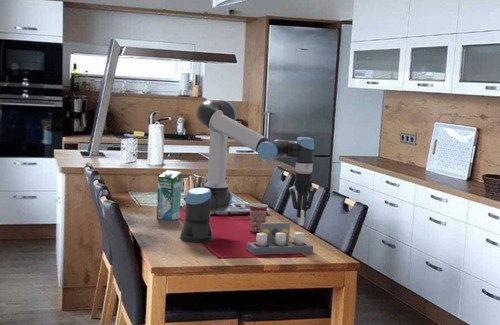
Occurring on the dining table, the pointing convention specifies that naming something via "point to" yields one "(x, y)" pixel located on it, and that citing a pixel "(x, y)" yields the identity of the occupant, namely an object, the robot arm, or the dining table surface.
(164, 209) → the milk carton
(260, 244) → the button left
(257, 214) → the mug
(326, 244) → the dining table surface
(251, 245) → the button board
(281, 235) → the button middle
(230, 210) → the maze game
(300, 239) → the button right
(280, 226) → the card
